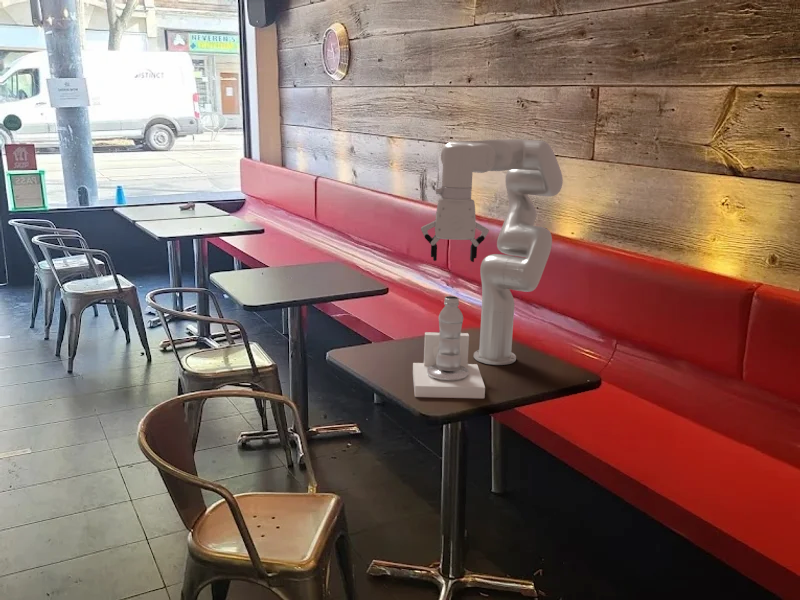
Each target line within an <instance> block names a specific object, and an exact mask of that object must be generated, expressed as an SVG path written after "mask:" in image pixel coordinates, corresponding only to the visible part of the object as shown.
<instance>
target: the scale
mask: <svg viewBox="0 0 800 600" xmlns="http://www.w3.org/2000/svg"><path fill="white" fill-rule="evenodd" d="M439 341H440V332H429V331H426V332H424V345H423V346H424V349H423V362H413V363H412V378H413V379H412V381H413V390H414V398H440V399H441V398H448V399H450V398H451V399H452V398H454V399H485V397H486V395H485V394H486V386H485V383H484V380H483V377H482V375H481V371H480V369H479V366H478V364H477V363H476V364H475V363H474V364H473V363H469V348H470V345H469V344H470V343H469V342H470V335H469V333H468V332H466V333H465V332H461V334H460V357H461V363H460V365H461V366H463V367H465V368H467V369H468V377H467V378H465V379H462V380H457V381H443V380H438V379H434V378H432V377H430V376H429V375H428V374H427V369H428V367H429V366H431V365H434V364H436V357H437V353H438V349H439Z"/></svg>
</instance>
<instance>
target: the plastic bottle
mask: <svg viewBox="0 0 800 600" xmlns="http://www.w3.org/2000/svg"><path fill="white" fill-rule="evenodd" d="M459 299H460V298H459V297H458V296H453V295H448V296H447V295H446V296H445V297H444V302H443V305H444V307H443V308H442V309H441V311H440V312H439V315H438V327H439V333H440V341H439V349H438V353H437V357H436V364H437V367H438V368H439V369H440V370H443V371H456V370H457V369H458V368H459V367H460V363H461V357H460V334H461V333H462V327H463V321H464V315H463V313H462V311H461V310H460V308H459V307H458V306H459V305H460V301H459Z"/></svg>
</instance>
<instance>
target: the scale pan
mask: <svg viewBox="0 0 800 600" xmlns="http://www.w3.org/2000/svg"><path fill="white" fill-rule="evenodd" d="M427 374H428V375H429V376H430V377H432V378H434V379H438V380H443V381H457V380H462V379H465V378H467V377H468V369H467V368H465V367H463V366H461V365H460V367H459V368H458V369H457V370H456V371H443V370H440V369H439V368H438V367H437V364H434V365H431V366H429V367H428V369H427Z"/></svg>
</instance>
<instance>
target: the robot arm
mask: <svg viewBox="0 0 800 600" xmlns="http://www.w3.org/2000/svg"><path fill="white" fill-rule="evenodd" d="M440 161H441V164H442V177H441V179H442V180H441V187H440V188H436V189H435V194H436V195H438V196H441V198H438V202H437V205H436V213H435V220H433V221H431V222H429V223H427V224H425V225H423V226H421V227H420V231H421V233H422V234H423V237H424V239H425V240H426V241H427V242H428V243H429V244H430V246H431V247H430V258H432V259H433V262H436V261H437V255H438V245H437V243H438V242H439V241H440V240H457V241H458V240H459V241H460V240H461V241H467V240H468V241H470V242H471V245H470V251H469V252H470V254H469V260H470V262H471V263H474V262H475V259H477V258H478V257H477V256H478V255H477V254H478V247H479V245H481V243H482V242H483V241H484V240H485V239H486V237H487V236H488V234H489V232H490V230H489V229H488V227H485V226H484V225H482V224H480V223H478V222H476V220H477V219H476V205H475V200H474V199H472V187H473V173H477V174H479V173H480V174H483V173H487V172H504V171H505V172H506V173H505V174H506V175H505V187H506V188H505V189H506V193H507V198H508V210H507V213H506V215H505V219H504V221H503V223H502V227H501V229H500V231H499V234H498V237H497V240H496V248H497V250H498V251H499V252H500V253H502V254H499V253H493V254H488V255H487V256H485V257H484V258H483V259H482V260H481V263H480V273H479V274H480V280H481V281H480V282H481V291H482V292H481V293H482V295H481V296H482V297H481V315H480V334H479V348H478V350H476V351H474V352H473V358H474V360H475V361H477V362H479V363H482V364H486V365H492V366H503V365H504V366H505V365H510V364H514V363H515V362H516V360H517V355H516V354H515V353H514V352H512V348H513V347H512V344H513V331H514V316H515V300H514V299H515V298H514V297H513V294H512V292H511V290H512V291H518V292H525V293H527V292H528V293H529V292H533V291H534V290H536V289H537V287H538V285H539V283H540V282H541V281H540V280H541V279H542V275H543V273H544V270H545V267H546V265H547V262H548V260H549V256H550V254H551V250H552V245H553V237H552V233H551V231H550V230H549V229H548V228H546V227H543V226H541V225H540V226H539V225H534V224H535V222H536V220H537V210H536V208H535V206H534V203H533V202H532V201H531V199H530V196H539V197H541V196H542V197H555V196H557V195H558V194H559V193H560V192H561V189H562V188H563V173H562V171H561V168H560V165H559V163H558V160H557V157H556V154H555V152H554V151H553V148H552V147H551V145H550V144H549V143H548V142H547V141H545V140H537V139H519V138H516V139H514V138H512V139H511V138H510V139H509V138H508V139H484V140H463V141H462V140H455V141H452V140H451V141H449V142H447V143H446V144H445V145H444V146H443V148H442V150H441V153H440ZM529 195H530V196H529ZM433 228H434V232H435V233H434V236H433V237H432V236H431V235H430V234H429V230H431V229H433ZM476 229H477V230H479V231H480V232H481V233H480V235H479V236H478V237H477V238H475V237H476Z"/></svg>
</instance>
